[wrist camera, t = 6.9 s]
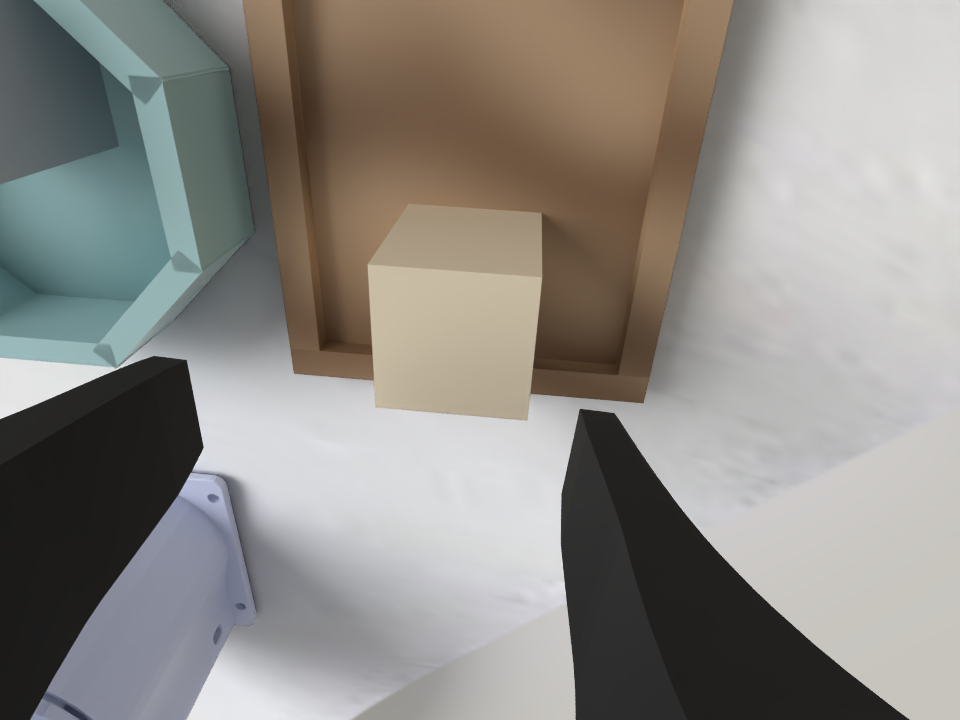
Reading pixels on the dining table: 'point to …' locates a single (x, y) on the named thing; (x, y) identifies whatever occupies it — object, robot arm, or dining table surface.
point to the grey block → (47, 95)
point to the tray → (487, 158)
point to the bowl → (126, 196)
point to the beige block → (456, 311)
